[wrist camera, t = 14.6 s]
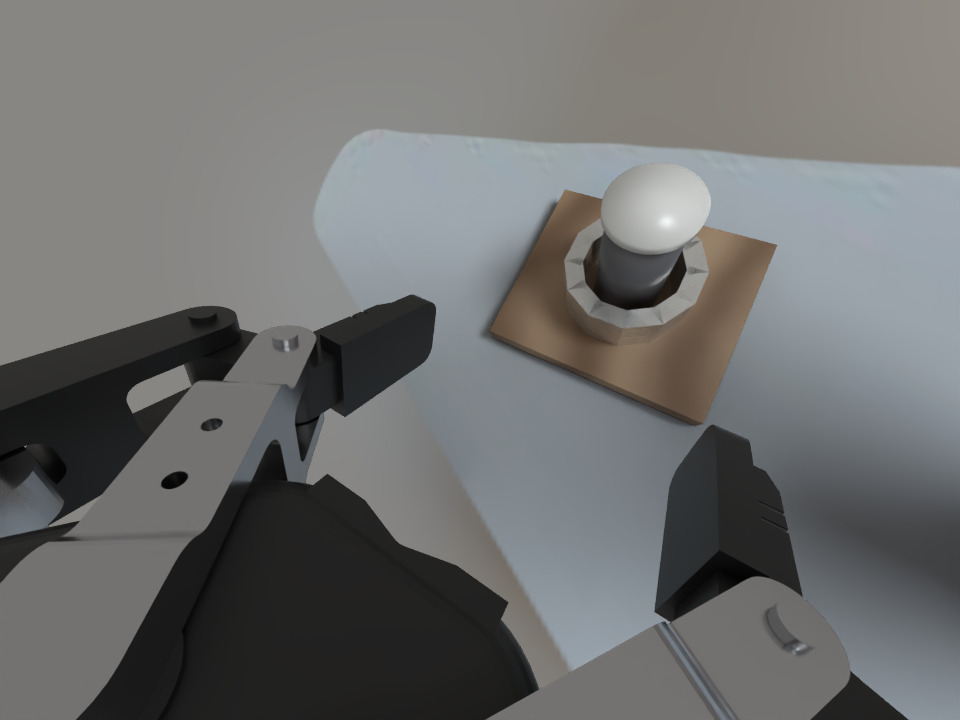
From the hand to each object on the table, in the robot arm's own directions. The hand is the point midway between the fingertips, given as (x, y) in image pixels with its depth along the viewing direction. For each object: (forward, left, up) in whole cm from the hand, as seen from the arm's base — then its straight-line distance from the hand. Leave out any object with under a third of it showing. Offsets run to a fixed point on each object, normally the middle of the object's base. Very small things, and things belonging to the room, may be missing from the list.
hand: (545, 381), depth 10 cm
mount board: (0, -12, -17) cm, 21 cm away
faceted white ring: (0, -12, -16) cm, 20 cm away
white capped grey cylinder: (0, -12, -16) cm, 20 cm away
